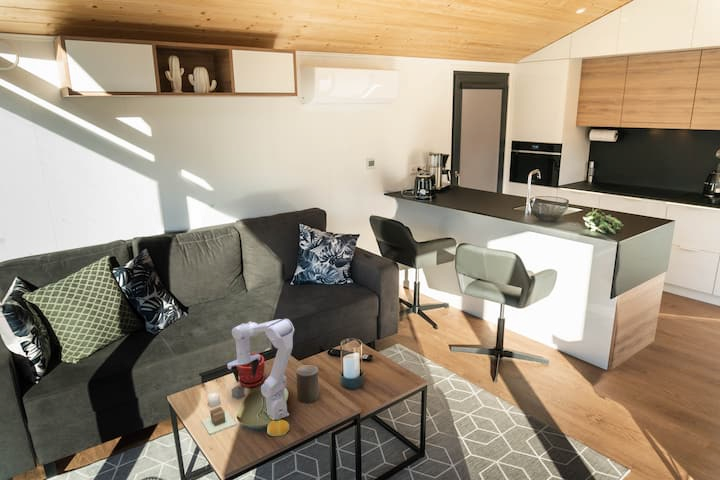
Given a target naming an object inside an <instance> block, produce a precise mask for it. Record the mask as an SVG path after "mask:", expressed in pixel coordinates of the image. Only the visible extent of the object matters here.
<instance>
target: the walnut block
mask: <svg viewBox="0 0 720 480" xmlns="http://www.w3.org/2000/svg"><path fill="white" fill-rule="evenodd" d="M225 412H226V411H224V409H223V407H222V406H219V407H215V408H214V409H213V408H212V409H210V410H209V414H210V417H211V421H212V423H213V424H214V426H218V425H220V424H223V423H225V422H226V421H225Z"/></svg>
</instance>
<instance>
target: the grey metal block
mask: <svg viewBox="0 0 720 480" xmlns="http://www.w3.org/2000/svg"><path fill="white" fill-rule="evenodd" d="M245 391H246V390H245V387H244V386H242V385H236V386H235V387H233V388H231V397H232V398H234V399H235V400H240V399H242V398H244V397H245V396H246V392H245Z"/></svg>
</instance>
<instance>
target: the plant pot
mask: <svg viewBox="0 0 720 480" xmlns="http://www.w3.org/2000/svg"><path fill="white" fill-rule="evenodd" d="M257 354H258V353H250V356H251V355H257ZM259 355H260V360H258V361H259V365H258V367H257V370H256V375H255V377H254V376H253V375H252V367H251V362H250V363H248V364H244V365H239V366H236V367H237V369H238V370H239V371H238V377H239V382H238V383H240V386H242V387H247V388H252V387H257V386H260V384H262V383H263V382H264V381H265V380H264V379H265V376H264V374H265V367H266V366H265V358H264V356H263V355H261V354H259Z"/></svg>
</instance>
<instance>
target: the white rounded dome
mask: <svg viewBox="0 0 720 480" xmlns="http://www.w3.org/2000/svg"><path fill="white" fill-rule="evenodd" d="M206 397H207V403H208V407H210V408H217V407H218V406H220V405H221V399H220V392H219V391H218V390H212V391H209V392H208V393H207V396H206Z"/></svg>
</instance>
